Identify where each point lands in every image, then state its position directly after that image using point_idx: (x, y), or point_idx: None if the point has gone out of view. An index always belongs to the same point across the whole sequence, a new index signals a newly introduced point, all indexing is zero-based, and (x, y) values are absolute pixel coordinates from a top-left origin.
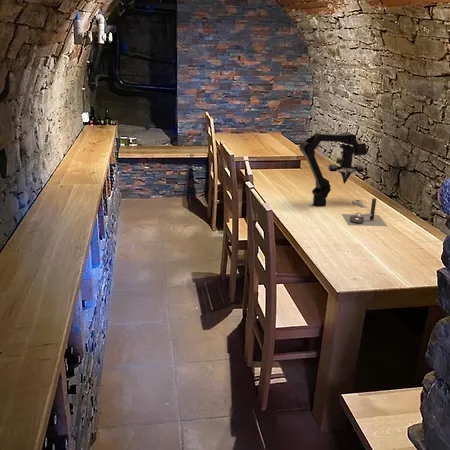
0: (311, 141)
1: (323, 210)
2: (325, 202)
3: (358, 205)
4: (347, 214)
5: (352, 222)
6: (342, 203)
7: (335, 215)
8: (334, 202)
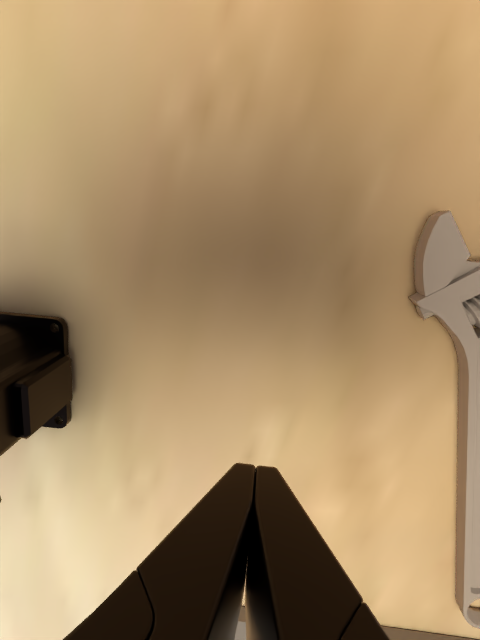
0: None
1: (51, 473)
2: (46, 420)
3: (453, 339)
4: None
5: None
6: (290, 268)
7: None
8: (206, 231)
